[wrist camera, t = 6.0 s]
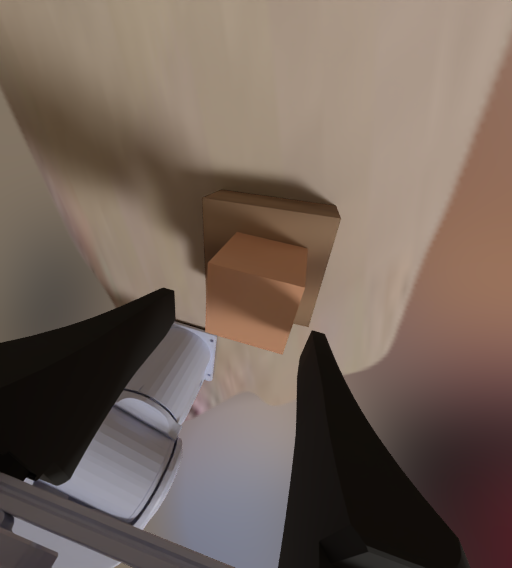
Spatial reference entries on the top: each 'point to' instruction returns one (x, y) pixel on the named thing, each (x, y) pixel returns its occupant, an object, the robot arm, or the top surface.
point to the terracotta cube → (255, 291)
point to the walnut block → (274, 232)
